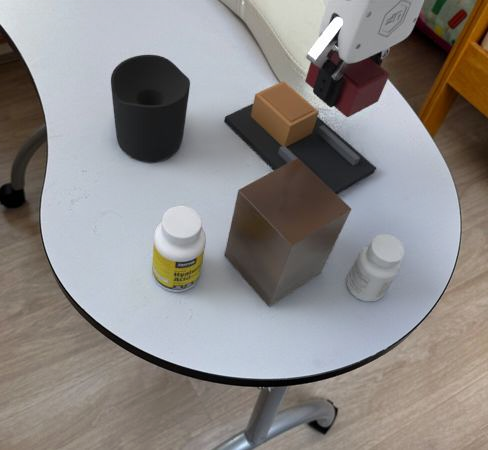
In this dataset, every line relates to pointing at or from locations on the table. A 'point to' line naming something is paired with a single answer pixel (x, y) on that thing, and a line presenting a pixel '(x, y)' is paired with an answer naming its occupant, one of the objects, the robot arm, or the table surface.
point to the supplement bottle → (178, 249)
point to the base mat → (305, 151)
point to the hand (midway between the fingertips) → (342, 89)
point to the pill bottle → (375, 268)
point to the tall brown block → (284, 230)
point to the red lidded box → (355, 84)
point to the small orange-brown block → (284, 113)
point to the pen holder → (149, 106)
